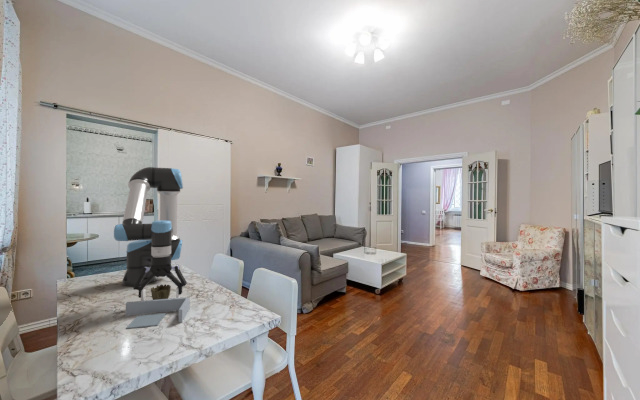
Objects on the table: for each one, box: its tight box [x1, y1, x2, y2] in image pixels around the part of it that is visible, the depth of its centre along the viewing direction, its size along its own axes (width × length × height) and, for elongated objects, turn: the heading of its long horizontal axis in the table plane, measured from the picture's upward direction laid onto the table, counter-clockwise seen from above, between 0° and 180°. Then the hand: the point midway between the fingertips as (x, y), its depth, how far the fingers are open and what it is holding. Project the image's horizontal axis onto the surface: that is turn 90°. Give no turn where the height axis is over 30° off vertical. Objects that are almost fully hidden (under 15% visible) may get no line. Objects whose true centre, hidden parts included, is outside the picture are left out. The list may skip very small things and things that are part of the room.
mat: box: [125, 312, 167, 330], centre depth 97 cm, size 10×10×1 cm
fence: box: [125, 296, 191, 324], centre depth 99 cm, size 13×23×5 cm, turn 105°
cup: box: [150, 284, 172, 300], centre depth 111 cm, size 8×7×8 cm
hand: (160, 303), depth 111 cm, fingers open, 13 cm apart
